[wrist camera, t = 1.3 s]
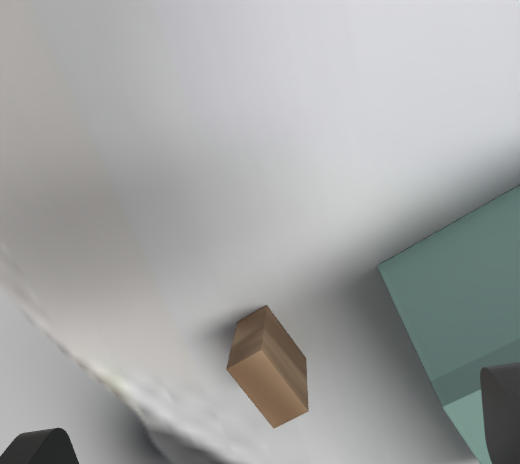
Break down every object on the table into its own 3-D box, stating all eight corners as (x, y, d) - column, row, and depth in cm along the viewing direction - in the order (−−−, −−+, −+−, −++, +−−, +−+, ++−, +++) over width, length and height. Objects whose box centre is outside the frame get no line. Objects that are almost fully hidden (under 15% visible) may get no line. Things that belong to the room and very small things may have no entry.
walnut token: (266, 304, 31) (261, 349, 26) (305, 357, 32) (308, 411, 27) (237, 322, 31) (226, 369, 26) (276, 373, 32) (273, 428, 27)
